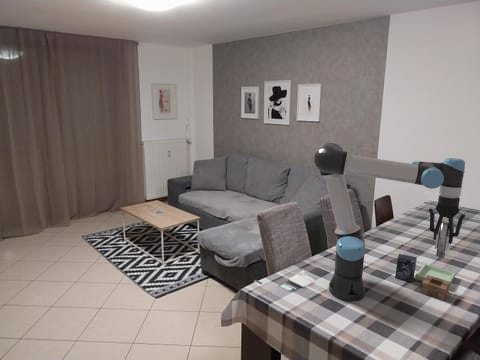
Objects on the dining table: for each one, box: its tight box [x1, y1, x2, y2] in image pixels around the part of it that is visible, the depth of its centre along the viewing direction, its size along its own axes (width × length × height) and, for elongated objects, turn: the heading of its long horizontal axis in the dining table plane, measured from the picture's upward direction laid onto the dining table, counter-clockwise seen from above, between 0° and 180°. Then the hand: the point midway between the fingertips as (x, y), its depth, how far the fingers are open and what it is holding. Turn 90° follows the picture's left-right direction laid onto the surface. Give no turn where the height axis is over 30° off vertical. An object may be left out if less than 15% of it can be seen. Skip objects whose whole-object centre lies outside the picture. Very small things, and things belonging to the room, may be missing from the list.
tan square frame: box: [420, 275, 451, 301], centre depth 152 cm, size 9×9×5 cm
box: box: [394, 253, 417, 283], centre depth 164 cm, size 8×6×11 cm
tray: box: [414, 263, 456, 288], centre depth 164 cm, size 16×14×2 cm
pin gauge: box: [435, 220, 449, 258], centre depth 147 cm, size 3×3×15 cm
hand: (441, 248), depth 148 cm, fingers closed on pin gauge, 3 cm apart
